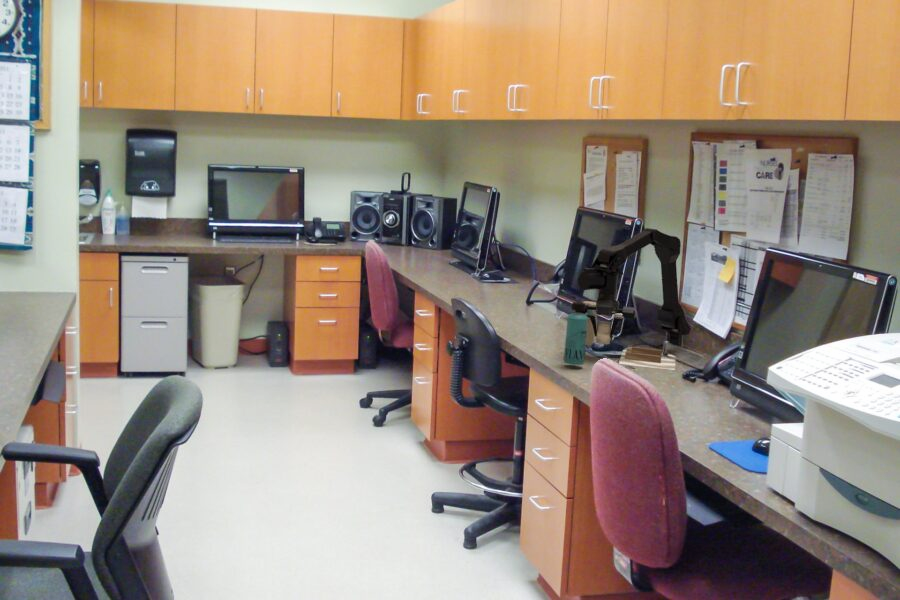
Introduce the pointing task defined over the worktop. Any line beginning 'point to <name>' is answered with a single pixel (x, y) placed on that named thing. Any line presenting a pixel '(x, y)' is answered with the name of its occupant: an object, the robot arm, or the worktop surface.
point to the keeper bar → (683, 353)
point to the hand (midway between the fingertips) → (603, 337)
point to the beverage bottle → (576, 336)
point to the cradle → (647, 358)
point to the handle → (590, 327)
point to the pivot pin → (603, 332)
